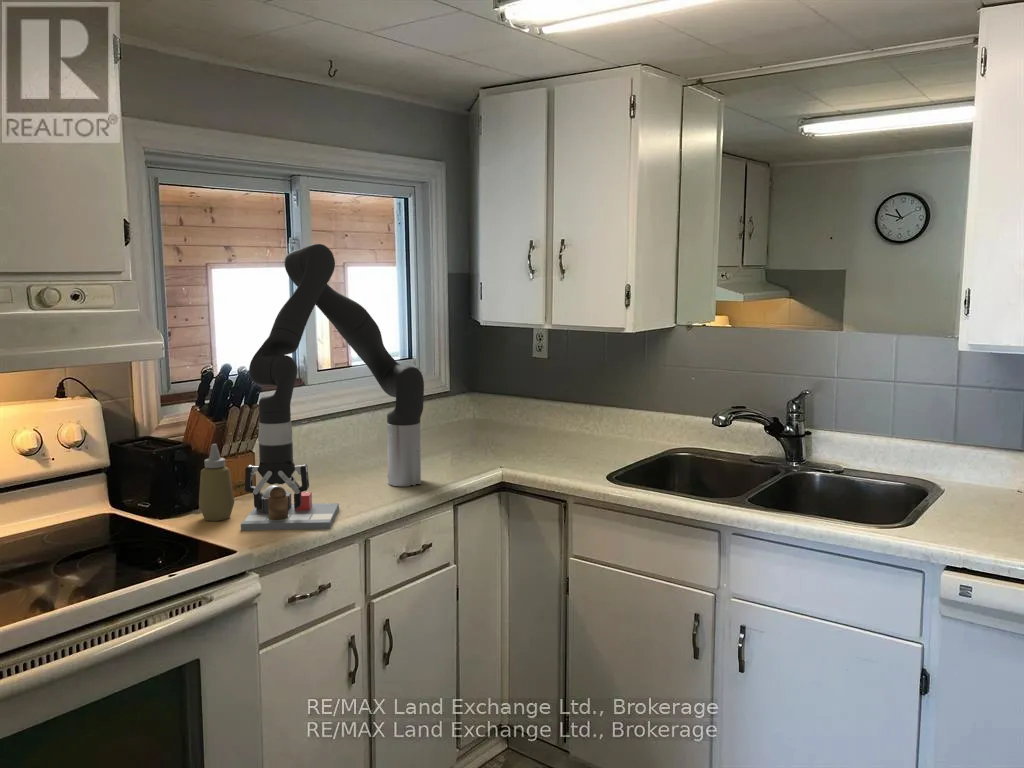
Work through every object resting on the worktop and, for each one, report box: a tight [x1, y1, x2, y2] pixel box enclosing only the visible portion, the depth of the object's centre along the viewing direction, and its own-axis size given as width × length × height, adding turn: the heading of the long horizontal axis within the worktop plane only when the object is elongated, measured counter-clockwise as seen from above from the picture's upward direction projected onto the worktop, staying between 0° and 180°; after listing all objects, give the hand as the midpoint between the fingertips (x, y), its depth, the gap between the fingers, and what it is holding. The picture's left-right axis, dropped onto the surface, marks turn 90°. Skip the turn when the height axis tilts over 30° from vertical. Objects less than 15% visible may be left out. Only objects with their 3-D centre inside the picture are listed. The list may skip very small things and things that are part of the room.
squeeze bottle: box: [198, 443, 235, 522], centre depth 193 cm, size 8×8×18 cm
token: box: [268, 485, 288, 520], centre depth 189 cm, size 4×4×7 cm
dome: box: [263, 484, 278, 498], centre depth 197 cm, size 5×5×5 cm
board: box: [240, 490, 340, 531], centre depth 193 cm, size 20×16×5 cm
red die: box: [295, 491, 313, 510], centre depth 197 cm, size 4×4×4 cm
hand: (278, 508), depth 190 cm, fingers open, 8 cm apart
